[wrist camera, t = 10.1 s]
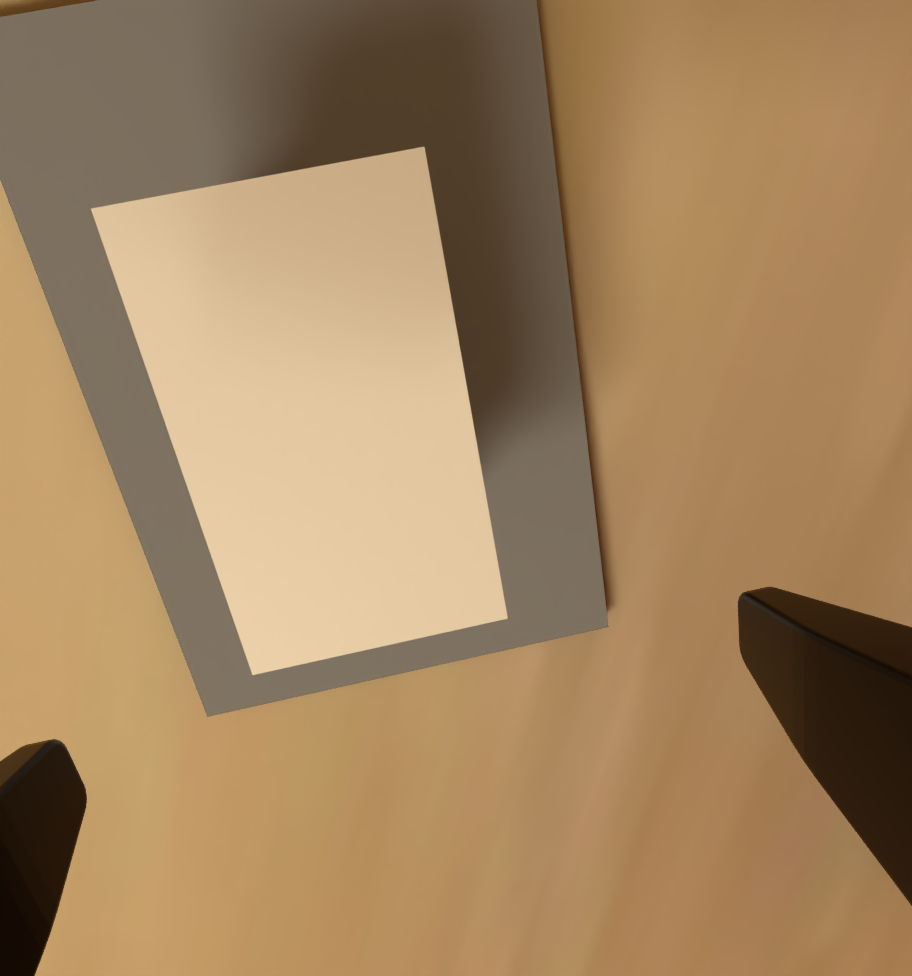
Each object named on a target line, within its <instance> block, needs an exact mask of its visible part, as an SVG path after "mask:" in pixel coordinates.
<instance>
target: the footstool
mask: <svg viewBox="0 0 912 976" xmlns="http://www.w3.org/2000/svg"><path fill="white" fill-rule="evenodd" d="M91 211H92V214H93V217H94V220H95V222H96V225H97V228H98V231H99V234H100V237H101V240H102V243H103V245H104V248H105V251H106V254H107V257H108V260H109V263H110V266H111V269H112V271H113V274H114V277H115V280H116V283H117V286H118V289H119V292H120V294H121V297H122V300H123V303H124V306H125V309H126V312H127V315H128V318H129V320H130V323H131V326H132V329H133V332H134V335H135V338H136V341H137V343H138V346H139V349H140V352H141V355H142V358H143V361H144V364H145V367H146V369H147V372H148V375H149V378H150V381H151V384H152V387H153V390H154V393H155V395H156V398H157V401H158V404H159V407H160V410H161V413H162V416H163V418H164V421H165V424H166V427H167V430H168V433H169V436H170V439H171V442H172V444H173V447H174V450H175V453H176V456H177V459H178V462H179V465H180V467H181V470H182V473H183V476H184V479H185V482H186V485H187V488H188V491H189V493H190V496H191V499H192V502H193V505H194V508H195V511H196V514H197V516H198V519H199V522H200V525H201V528H202V531H203V534H204V537H205V540H206V542H207V545H208V548H209V551H210V554H211V557H212V560H213V563H214V565H215V568H216V571H217V574H218V577H219V580H220V583H221V586H222V589H223V591H224V594H225V597H226V600H227V603H228V606H229V609H230V612H231V615H232V617H233V620H234V623H235V626H236V629H237V632H238V635H239V638H240V640H241V643H242V646H243V649H244V652H245V655H246V658H247V661H248V664H249V666H250V669H251V672H252V675H256V674H260V673H265V672H269V671H274V670H278V669H283V668H287V667H292V666H296V665H301V664H305V663H310V662H314V661H319V660H323V659H328V658H333V657H337V656H342V655H346V654H351V653H355V652H360V651H364V650H369V649H373V648H378V647H382V646H387V645H391V644H396V643H400V642H405V641H409V640H414V639H418V638H423V637H427V636H432V635H436V634H441V633H445V632H450V631H454V630H459V629H463V628H468V627H472V626H477V625H481V624H486V623H490V622H495V621H499V620H504V619H508V617H507V611H506V605H505V600H504V594H503V588H502V583H501V577H500V571H499V566H498V560H497V555H496V549H495V543H494V538H493V532H492V526H491V521H490V515H489V509H488V504H487V498H486V492H485V487H484V481H483V475H482V470H481V464H480V458H479V453H478V447H477V441H476V436H475V430H474V424H473V419H472V413H471V407H470V402H469V396H468V390H467V385H466V379H465V373H464V368H463V362H462V356H461V351H460V345H459V339H458V334H457V328H456V323H455V317H454V311H453V306H452V300H451V294H450V289H449V283H448V277H447V272H446V266H445V260H444V255H443V249H442V243H441V238H440V232H439V226H438V221H437V215H436V209H435V204H434V198H433V192H432V187H431V181H430V175H429V170H428V164H427V158H426V153H425V147H419V148H414V149H409V150H403V151H398V152H393V153H387V154H382V155H376V156H371V157H366V158H360V159H355V160H350V161H344V162H339V163H333V164H328V165H323V166H317V167H312V168H307V169H301V170H296V171H290V172H285V173H280V174H274V175H269V176H264V177H258V178H253V179H247V180H242V181H237V182H231V183H226V184H221V185H215V186H210V187H204V188H199V189H194V190H188V191H183V192H178V193H172V194H167V195H161V196H156V197H151V198H145V199H140V200H135V201H129V202H124V203H118V204H113V205H108V206H102V207H97V208H92V209H91Z"/></svg>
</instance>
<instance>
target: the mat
mask: <svg viewBox="0 0 912 976" xmlns="http://www.w3.org/2000/svg"><path fill="white" fill-rule="evenodd" d="M419 147H425V153H426V158H427V164H428V170H429V175H430V181H431V187H432V192H433V198H434V204H435V209H436V215H437V221H438V226H439V232H440V238H441V243H442V249H443V255H444V260H445V266H446V272H447V277H448V283H449V289H450V294H451V300H452V306H453V311H454V317H455V323H456V328H457V334H458V339H459V345H460V351H461V356H462V362H463V368H464V373H465V379H466V385H467V390H468V396H469V402H470V407H471V413H472V419H473V424H474V430H475V436H476V441H477V447H478V453H479V458H480V464H481V470H482V475H483V481H484V487H485V492H486V498H487V504H488V509H489V515H490V521H491V526H492V532H493V538H494V543H495V549H496V555H497V560H498V566H499V571H500V577H501V583H502V588H503V594H504V600H505V605H506V611H507V617H508V619H504V620H499V621H495V622H490V623H486V624H481V625H477V626H472V627H468V628H463V629H459V630H454V631H450V632H445V633H441V634H436V635H432V636H427V637H423V638H418V639H414V640H409V641H405V642H400V643H396V644H391V645H387V646H382V647H378V648H373V649H369V650H364V651H360V652H355V653H351V654H346V655H342V656H337V657H333V658H328V659H323V660H319V661H314V662H310V663H305V664H301V665H296V666H292V667H287V668H283V669H278V670H274V671H269V672H265V673H260V674H256V675H252V672H251V669H250V666H249V664H248V661H247V658H246V655H245V652H244V649H243V646H242V643H241V640H240V638H239V635H238V632H237V629H236V626H235V623H234V620H233V617H232V615H231V612H230V609H229V606H228V603H227V600H226V597H225V594H224V591H223V589H222V586H221V583H220V580H219V577H218V574H217V571H216V568H215V565H214V563H213V560H212V557H211V554H210V551H209V548H208V545H207V542H206V540H205V537H204V534H203V531H202V528H201V525H200V522H199V519H198V516H197V514H196V511H195V508H194V505H193V502H192V499H191V496H190V493H189V491H188V488H187V485H186V482H185V479H184V476H183V473H182V470H181V467H180V465H179V462H178V459H177V456H176V453H175V450H174V447H173V444H172V442H171V439H170V436H169V433H168V430H167V427H166V424H165V421H164V418H163V416H162V413H161V410H160V407H159V404H158V401H157V398H156V395H155V393H154V390H153V387H152V384H151V381H150V378H149V375H148V372H147V369H146V367H145V364H144V361H143V358H142V355H141V352H140V349H139V346H138V343H137V341H136V338H135V335H134V332H133V329H132V326H131V323H130V320H129V318H128V315H127V312H126V309H125V306H124V303H123V300H122V297H121V294H120V292H119V289H118V286H117V283H116V280H115V277H114V274H113V271H112V269H111V266H110V263H109V260H108V257H107V254H106V251H105V248H104V245H103V243H102V240H101V237H100V234H99V231H98V228H97V225H96V222H95V220H94V217H93V214H92V211H91V209H92V208H97V207H102V206H108V205H113V204H118V203H124V202H129V201H135V200H140V199H145V198H151V197H156V196H161V195H167V194H172V193H178V192H183V191H188V190H194V189H199V188H204V187H210V186H215V185H221V184H226V183H231V182H237V181H242V180H247V179H253V178H258V177H264V176H269V175H274V174H280V173H285V172H290V171H296V170H301V169H307V168H312V167H317V166H323V165H328V164H333V163H339V162H344V161H350V160H355V159H360V158H366V157H371V156H376V155H382V154H387V153H393V152H398V151H403V150H409V149H414V148H419ZM0 180H1V182H2V185H3V188H4V190H5V193H6V195H7V198H8V201H9V203H10V206H11V208H12V211H13V214H14V216H15V219H16V221H17V224H18V227H19V229H20V232H21V234H22V237H23V240H24V242H25V245H26V247H27V250H28V252H29V255H30V258H31V260H32V263H33V265H34V268H35V271H36V273H37V276H38V278H39V281H40V284H41V286H42V289H43V291H44V294H45V297H46V299H47V302H48V304H49V307H50V310H51V312H52V315H53V317H54V320H55V323H56V325H57V328H58V330H59V333H60V335H61V338H62V341H63V343H64V346H65V348H66V351H67V354H68V356H69V359H70V361H71V364H72V367H73V369H74V372H75V374H76V377H77V380H78V382H79V385H80V387H81V390H82V393H83V395H84V398H85V400H86V403H87V406H88V408H89V411H90V413H91V416H92V418H93V421H94V424H95V426H96V429H97V431H98V434H99V437H100V439H101V442H102V444H103V447H104V450H105V452H106V455H107V457H108V460H109V463H110V465H111V468H112V470H113V473H114V476H115V478H116V481H117V483H118V486H119V488H120V491H121V494H122V496H123V499H124V501H125V504H126V507H127V509H128V512H129V514H130V517H131V520H132V522H133V525H134V527H135V530H136V533H137V535H138V538H139V540H140V543H141V546H142V548H143V551H144V553H145V556H146V559H147V561H148V564H149V566H150V569H151V571H152V574H153V577H154V579H155V582H156V584H157V587H158V590H159V592H160V595H161V597H162V600H163V603H164V605H165V608H166V610H167V613H168V616H169V618H170V621H171V623H172V626H173V629H174V631H175V634H176V636H177V639H178V642H179V644H180V647H181V649H182V652H183V654H184V657H185V660H186V662H187V665H188V667H189V670H190V673H191V675H192V678H193V680H194V683H195V686H196V688H197V691H198V693H199V696H200V699H201V701H202V704H203V706H204V709H205V712H206V714H207V717H209V716H213V715H218V714H222V713H227V712H231V711H236V710H240V709H244V708H249V707H253V706H258V705H262V704H267V703H271V702H276V701H280V700H285V699H289V698H294V697H298V696H303V695H307V694H311V693H316V692H320V691H325V690H329V689H334V688H338V687H343V686H347V685H352V684H356V683H361V682H365V681H370V680H374V679H378V678H383V677H387V676H392V675H396V674H401V673H405V672H410V671H414V670H419V669H423V668H428V667H432V666H437V665H441V664H445V663H450V662H454V661H459V660H463V659H468V658H472V657H477V656H481V655H486V654H490V653H495V652H499V651H504V650H508V649H512V648H517V647H521V646H526V645H530V644H535V643H539V642H544V641H548V640H553V639H557V638H562V637H566V636H571V635H575V634H579V633H584V632H588V631H593V630H597V629H602V628H606V627H608V618H607V609H606V600H605V592H604V583H603V574H602V565H601V557H600V548H599V539H598V531H597V522H596V513H595V504H594V496H593V487H592V478H591V469H590V461H589V452H588V443H587V435H586V426H585V417H584V408H583V400H582V391H581V382H580V374H579V365H578V356H577V347H576V339H575V330H574V321H573V312H572V304H571V295H570V286H569V278H568V269H567V260H566V251H565V243H564V234H563V225H562V217H561V208H560V199H559V190H558V182H557V173H556V164H555V155H554V147H553V138H552V129H551V121H550V112H549V103H548V94H547V86H546V77H545V68H544V60H543V51H542V42H541V33H540V25H539V16H538V7H537V0H97V1H91V2H85V3H79V4H73V5H67V6H61V7H56V8H50V9H44V10H38V11H32V12H26V13H21V14H15V15H9V16H3V17H0Z"/></svg>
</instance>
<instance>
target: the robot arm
mask: <svg viewBox="0 0 912 976" xmlns="http://www.w3.org/2000/svg"><path fill="white" fill-rule="evenodd" d="M738 621H739V646H740V652H741V655H742V658H743V660H744V663H745V665H746V666H747V668H748V670H749V671H750V673H751V675H752V676H753V678H754V680H755V681H756V683H757V685H758V686H759V688H760V690H761V691H762V693H763V695H764V696H765V698H766V700H767V702H768V703H769V705H770V707H771V708H772V710H773V712H774V713H775V715H776V717H777V718H778V720H779V722H780V723H781V725H782V727H783V728H784V730H785V732H786V733H787V735H788V737H789V738H790V740H791V742H792V743H793V745H794V747H795V748H796V750H797V751H798V753H799V754H800V756H801V758H802V759H803V761H804V762H805V764H806V765H807V766H808V768H809V769H810V771H811V772H812V773H813V775H814V776H815V778H816V779H817V780H818V782H819V783H820V784H821V786H822V787H823V788H824V790H825V791H826V792H827V794H828V795H829V796H830V798H831V799H832V800H833V802H834V803H835V804H836V806H837V807H838V808H839V810H840V811H841V812H842V814H843V815H844V816H845V818H846V819H847V820H848V822H849V823H850V824H851V826H852V827H853V828H854V830H855V831H856V832H857V834H858V835H859V836H860V837H861V839H862V840H863V841H864V843H865V844H866V845H867V847H868V848H869V849H870V851H871V852H872V853H873V855H874V856H875V857H876V859H877V860H878V861H879V863H880V864H881V865H882V867H883V868H884V869H885V871H886V872H887V873H888V875H889V876H890V877H891V879H892V880H893V881H894V883H895V884H896V885H897V887H898V888H899V889H900V891H901V892H902V893H903V895H904V896H905V897H906V899H907V900H908V901H909V903H910V904H911V905H912V627H909V626H905V625H902V624H899V623H895V622H892V621H888V620H885V619H881V618H878V617H874V616H871V615H867V614H864V613H861V612H857V611H854V610H850V609H847V608H843V607H840V606H836V605H833V604H830V603H826V602H823V601H819V600H816V599H812V598H809V597H805V596H802V595H798V594H795V593H792V592H788V591H785V590H781V589H778V588H774V587H765V588H760V589H756V590H751V591H747V592H744V593H742V594H741V596H740V597H739V600H738ZM86 802H87V795H86V789H85V786H84V784H83V782H82V780H81V777H80V775H79V773H78V771H77V769H76V767H75V765H74V763H73V760H72V758H71V756H70V754H69V752H68V750H67V748H66V746H65V745H64V744H63V743H62V742H61V741H59V740H55V739H52V740H47V741H42V742H38V743H33V744H28V745H25V746H23V747H21V748H19V749H18V750H16V751H15V752H13V753H12V754H10V755H9V756H7V757H6V758H4V759H3V760H2V761H0V976H35V973H36V971H37V968H38V965H39V963H40V960H41V957H42V955H43V952H44V949H45V947H46V944H47V941H48V938H49V935H50V932H51V930H52V926H53V923H54V920H55V917H56V913H57V910H58V907H59V903H60V900H61V896H62V892H63V889H64V885H65V882H66V878H67V874H68V871H69V867H70V863H71V860H72V856H73V853H74V849H75V845H76V842H77V838H78V835H79V831H80V827H81V824H82V820H83V817H84V813H85V809H86Z"/></svg>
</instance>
